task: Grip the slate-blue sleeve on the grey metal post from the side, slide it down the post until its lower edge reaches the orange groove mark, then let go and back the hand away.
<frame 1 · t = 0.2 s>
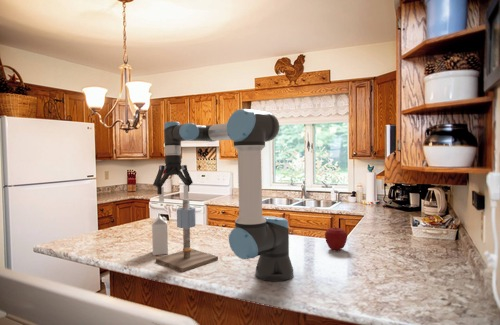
hand: (174, 200, 150), 27 cm above the countertop, tool pointing down, fingers open, 13 cm apart
sleeve: (186, 217, 147), point 20 cm above the countertop, slide at 10.0 cm
milk carton: (160, 253, 160), on the countertop
post stand: (187, 260, 147), on the countertop
apple: (336, 250, 161), on the countertop
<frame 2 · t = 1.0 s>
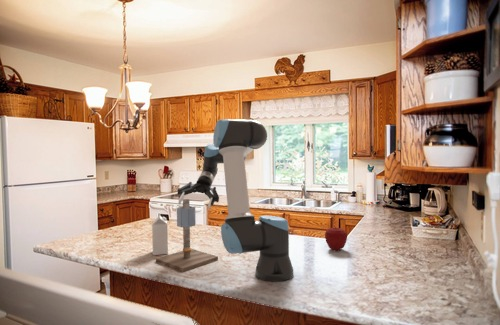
hand: (193, 204, 147), 26 cm above the countertop, tool tilted 65°, fingers open, 13 cm apart
sleeve: (186, 216, 147), point 20 cm above the countertop, slide at 10.4 cm
everything else where it was.
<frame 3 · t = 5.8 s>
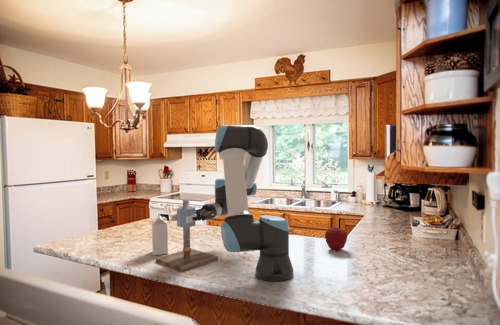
hand: (179, 219, 143), 20 cm above the countertop, tool horizontal, fingers closed on sleeve, 8 cm apart
sleeve: (186, 216, 147), point 20 cm above the countertop, slide at 10.4 cm, touching gripper
everything else where it was.
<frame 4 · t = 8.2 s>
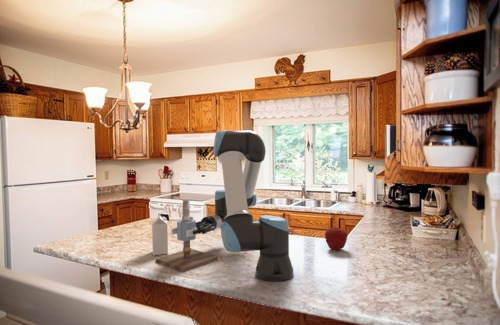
hand: (179, 232, 143), 14 cm above the countertop, tool horizontal, fingers closed on sleeve, 8 cm apart
sleeve: (186, 229, 147), point 14 cm above the countertop, slide at 4.3 cm, touching gripper
everything else where it was.
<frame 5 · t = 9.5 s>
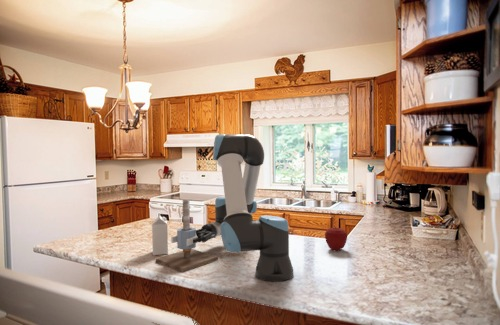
hand: (179, 241, 143), 10 cm above the countertop, tool horizontal, fingers closed on sleeve, 8 cm apart
sleeve: (186, 238, 147), point 10 cm above the countertop, slide at 0.4 cm, touching gripper
everything else where it was.
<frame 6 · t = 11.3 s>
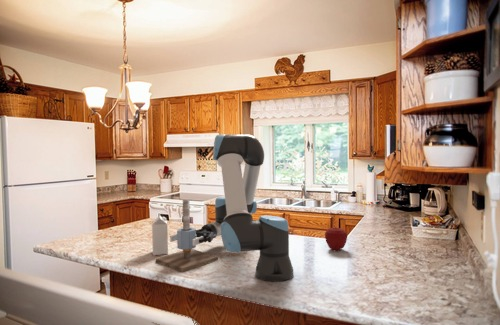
hand: (181, 240, 144), 10 cm above the countertop, tool horizontal, fingers open, 13 cm apart
sleeve: (186, 238, 147), point 10 cm above the countertop, slide at 0.4 cm
everything else where it was.
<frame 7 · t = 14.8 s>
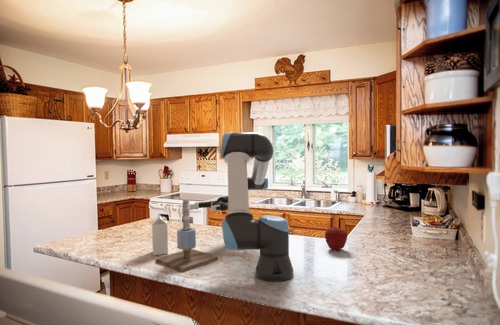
hand: (200, 208, 156), 23 cm above the countertop, tool horizontal, fingers open, 13 cm apart
nothing on the countertop moved.
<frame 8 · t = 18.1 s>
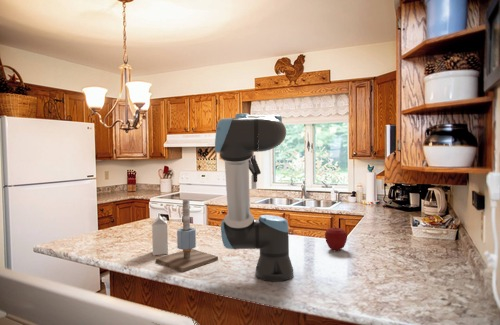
hand: (243, 188, 159), 32 cm above the countertop, tool pointing down, fingers open, 13 cm apart
nothing on the countertop moved.
at the end: sleeve slide at 0.4 cm; the gripper is holding nothing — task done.
